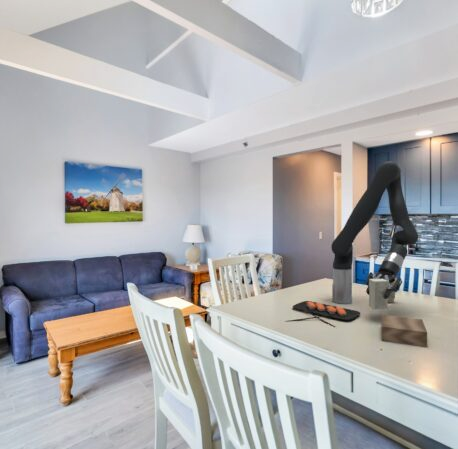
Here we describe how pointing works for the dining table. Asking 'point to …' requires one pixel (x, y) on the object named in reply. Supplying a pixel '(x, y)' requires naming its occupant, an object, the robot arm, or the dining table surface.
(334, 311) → the sushi plate
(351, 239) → the robot arm
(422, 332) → the block
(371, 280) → the skincare box
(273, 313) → the dining table surface
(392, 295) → the carving
